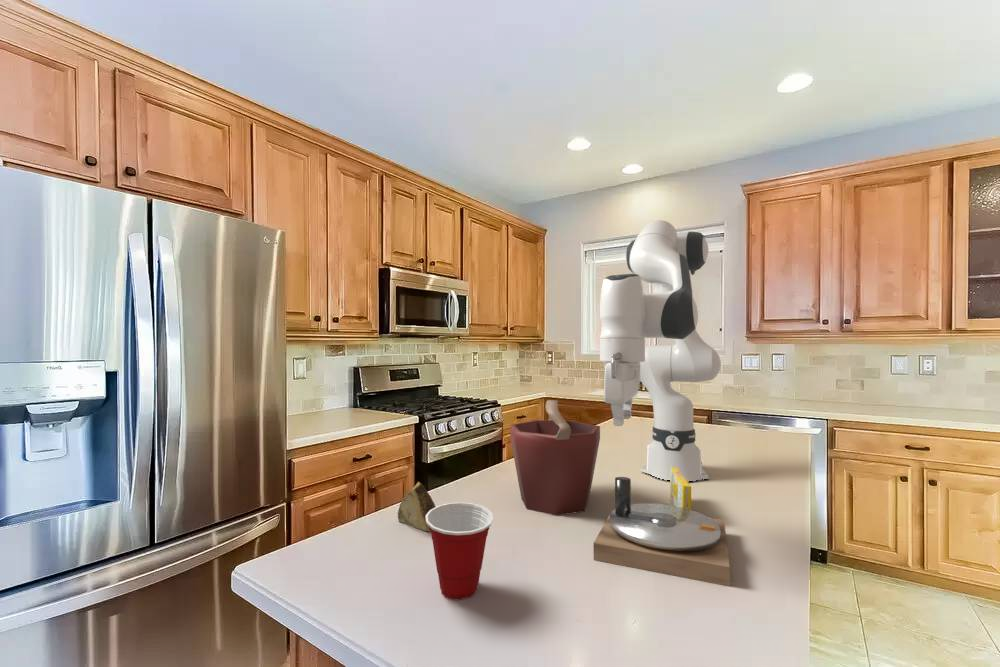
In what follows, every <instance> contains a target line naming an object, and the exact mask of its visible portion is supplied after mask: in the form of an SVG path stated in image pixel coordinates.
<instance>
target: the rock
mask: <svg viewBox="0 0 1000 667" xmlns="http://www.w3.org/2000/svg"><path fill="white" fill-rule="evenodd" d="M435 507H436V504H435V502H434V500H433V499H432V497H431V495H430V493H429V492H428V490H426V487H425V486H424V485H423V484H422V483H421V482H420V481H417V483H416V484H415V485H414V486H413V488H412V489H411V490H409V491H408V493H406V494H405V495H404V497H403V498H402V499H401V502H400V504H399V508H398V511H397V520H398V521H399V522H401V523H404V524H406V525H409V526H412V527H413V528H416V529H419V530H422V531H425V532H430V529H429V527H428V525H427V523H426V514H427V513H428V512H429V511H430V510H431V509H433V508H435Z"/></svg>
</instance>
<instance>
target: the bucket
mask: <svg viewBox="0 0 1000 667" xmlns="http://www.w3.org/2000/svg"><path fill="white" fill-rule="evenodd" d="M545 411H546V413H547V414H548V419H533V420H528V421H523V422H516V423H510V425H509V438H510V444H511V448H512V454H513V458H514V464H515V470H516V476H517V481H518V488H519V492H520V497H521V499H520V500H522V502H523V505H524V506H525V509H526V510H527V511H528V510H530V511H534V512H538V513H543V514H546V515H547V514H548V515H551V516H561V514H562V515H567V513H569V514H575V513H574V512H576V513H581V512H580V511H583V512H585V510H586V509H587V506H588V504H589V502H588V501H590V496H591V490H592V486H593V485H592V484H593V480H594V474H595V473H594V472H595V470H596V469H595V467H596V462H597V456H598V452H599V446H600V440H601V426H600V425H595V424H590V423H587V422H581V421H576V420H565V418H564V417H563V416H562V413H561V412H560V408H559V400H558V399H555V400H550V399H548V400H546V402H545ZM587 503H588V504H587ZM585 508H586V509H585Z"/></svg>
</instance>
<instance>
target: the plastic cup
mask: <svg viewBox="0 0 1000 667" xmlns="http://www.w3.org/2000/svg"><path fill="white" fill-rule="evenodd" d="M493 521H494V514H493V512H492V511H491V510H490V509H489V508H487V507H486V506H483V505H480V504H476V503H472V502H448V503H445V504H440V505H436V506H435V508H433V509H431V510H430V511H429V512H428V513H427V514H426V523H427V525H428V527H429V529H430V531H429V533H430V536H431V540H432V545H433V553H434V559H435V560H434V561H435V565H436V572H437V575H438V581H439V582H438V583H439V588H440V592H441V595H443V597H445V598H447V597H448V599H450V598H451V599H450V600H457V599H458V600H464V599H463V598H466V599H468V598H471V597H472V596H474V595H475V594H476V593H477V590H478V586H479V583H480V576H481V570H482V566H483V560H484V554H485V549H486V543H487V537H488V535H489V534H488V533H489V530H490V527H491V526H492V523H493Z"/></svg>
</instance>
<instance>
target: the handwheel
mask: <svg viewBox="0 0 1000 667" xmlns="http://www.w3.org/2000/svg"><path fill="white" fill-rule="evenodd" d="M614 480H615V481H614V488H615V489H614V492H615V493H614V498H615V499H614V501H615V504H614V506H615V510H613V511H612V510H611V511H612V512H611V511H610V513H609V515H610V526H611V528H612V529H613V530H614V531H615V532H616V533H617V534H618V535H620V536H622V537H623V538H625V539H628V540H630V541H632V542H635V543H638V544H641V545H645V546H649V547H653V548H658V549H665V550H675V551H692V550H701V549H705V548H709V547H712V546H714V545H715V544H717V543H718V542H719V540H720V537H721V534H720V527H719V525H718V524H717V523H716V522H715V521H714V520H712V519H711V518H712V517H709V516H707V515H705V514H703V513H701V512H698V511H695V510H692V509H691V510H689V509H686V508H681V507H677V506H673V505H670V504H662V503H649V502H648V503H644V502H643V503H632V492H631V491H632V488H631V487H632V486H631V482H632V481H631V478H630V477H628V476H617V477H615V479H614Z"/></svg>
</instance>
